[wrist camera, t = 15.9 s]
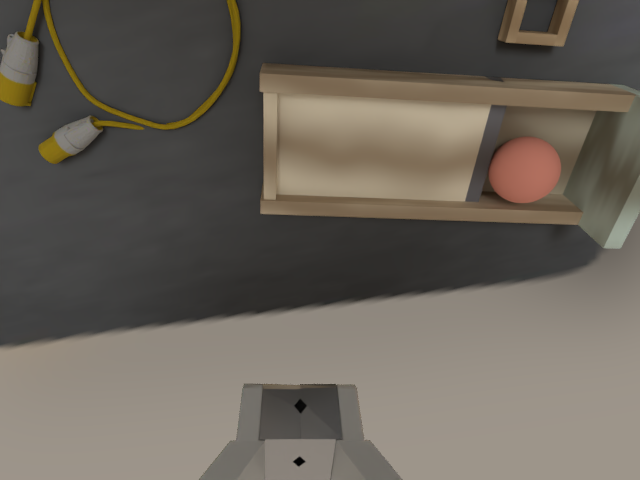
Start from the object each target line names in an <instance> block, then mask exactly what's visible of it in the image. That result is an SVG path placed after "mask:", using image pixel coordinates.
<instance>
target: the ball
mask: <svg viewBox="0 0 640 480" xmlns="http://www.w3.org/2000/svg"><path fill="white" fill-rule="evenodd" d="M560 173H561V162H560V158H559V155H558V154H557V152H556V150H555V149H554V148H553V147H552V146H551V145H550V144H549V143H548V142H546V141H544V140H542V139H539V138H536V137H518V138H515V139H512V140H510V141H508V142H506V143H504V144H503V145H502V146H500V147H499V148H498V149H497V151H496V152H495V153H494V155H493V156H492V158H491V161H490V165H489V169H488V176H489V181H490V183H491V186H492V187H493V189H494V190H495V192H496V193H497V194H498V195H499V196H501V197H502V198H504V199H506V200H508V201H511V202H514V203H530V202H534V201H537V200H539V199H541V198H543V197H545V196H546V195H547V194H549V193H550V192H551V191H552V190H553V188H554V187H555V186H556V184H557V182H558V180H559V177H560Z"/></svg>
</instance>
